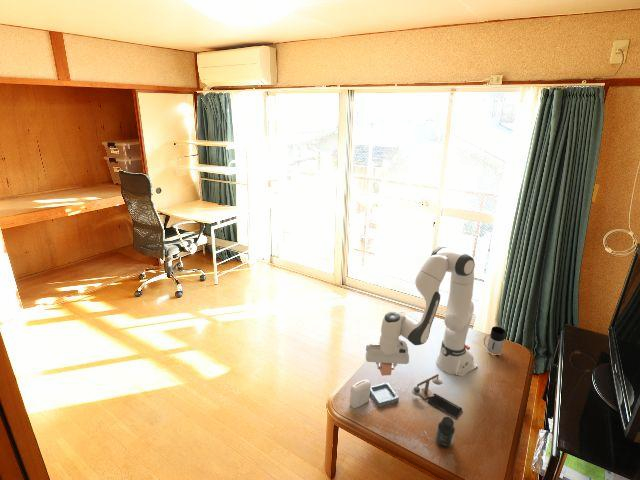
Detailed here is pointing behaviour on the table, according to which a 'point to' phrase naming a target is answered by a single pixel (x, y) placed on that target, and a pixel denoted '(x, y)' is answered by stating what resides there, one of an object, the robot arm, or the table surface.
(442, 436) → the supplement bottle
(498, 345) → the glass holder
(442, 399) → the phone
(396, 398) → the dish
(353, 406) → the photo printer
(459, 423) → the table surface
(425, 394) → the tipped balance
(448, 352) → the robot arm
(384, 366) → the terracotta block
